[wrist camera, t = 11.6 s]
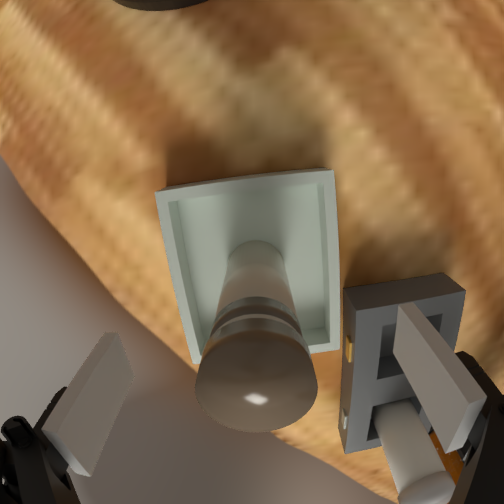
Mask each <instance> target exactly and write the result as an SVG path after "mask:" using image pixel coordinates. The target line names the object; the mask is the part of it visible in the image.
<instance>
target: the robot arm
mask: <svg viewBox="0 0 504 504" xmlns="http://www.w3.org/2000/svg"><path fill="white" fill-rule="evenodd" d="M113 1H115V2H117V3H118V4H121V5H123V6H126V7H129V8H132V9H137V10H146V11H163V10H173V9H179V8H184V7H188V6H192V5H196V4H199V3H202V2H205V1H208V0H113ZM393 354H394V355H395V357H396V359H397V361H398V363H399V364H400V366H401V368H402V370H403V372H404V373H405V375H406V377H407V379H408V381H409V383H410V384H411V386H412V388H413V390H414V392H415V394H416V396H417V398H418V400H419V401H420V403H421V405H422V407H423V409H424V411H425V413H426V415H427V417H428V419H429V421H430V423H431V425H432V427H433V429H434V431H435V433H436V435H437V437H438V439H439V441H440V443H441V445H442V447H443V449H444V452H445V454H446V453H449V452H451V451H454V450H457V449H459V448H462V447H463V445H464V443H465V442H466V440H467V438H468V439H469V441H470V443H471V444H472V445H471V446H470V448H469V450H468V451H467V453H466V455H465V457H464V458H463V461H465V462H464V465H463V468H462V471H461V474H460V476H459V479H458V482H457V484H456V487H455V489H454V492H453V494H452V497H451V499H450V501H449V504H504V395H502V394H501V392H500V391H499V390H498V388H497V387H496V386H495V384H494V383H493V382H492V380H491V379H490V378H489V377H488V375H487V374H486V373H484V370H483V369H482V368H481V366H479V364H478V363H477V362H476V360H475V359H474V358H473V357H472V356H471V355H469V354H467V353H466V352H464V351H461V352H458V353H454V352H453V350H452V349H451V348H450V346H449V345H448V344H447V343H446V341H445V340H444V339H443V338H442V336H441V335H440V334H439V333H438V331H437V330H436V329H435V328H434V327H433V325H432V324H431V323H430V322H429V321H428V319H427V318H426V317H425V316H424V315H423V313H422V312H421V311H420V310H419V309H418V307H417V306H416V305H415V304H414V303H413V302H411V303H405V304H399V305H398V315H397V324H396V332H395V340H394V348H393ZM134 377H135V375H134V372H133V370H132V368H131V365H130V363H129V360H128V358H127V355H126V352H125V350H124V347H123V344H122V342H121V339H120V336H119V334H118V332H105V333H104V335H103V336H102V337H101V339H100V340H99V342H98V343H97V344H96V346H95V347H94V349H93V350H92V352H91V353H90V355H89V356H88V357H87V359H86V360H85V362H84V363H83V365H82V366H81V368H80V369H79V371H78V372H77V374H76V375H75V377H74V378H73V380H72V381H71V383H70V384H69V386H68V387H63V388H62V389H61V390H60V391H58V392H57V393H56V394H55V396H54V397H53V399H52V400H51V403H49V405H48V406H47V409H46V410H45V411H44V412H43V414H42V416H41V417H40V419H39V420H38V422H37V423H36V425H35V427H34V428H32V427H31V426H30V424H29V423H28V422H27V420H26V419H25V418H24V417H22V416H14V417H11V418H10V419H8V420H7V421H6V422H5V423H4V424H3V426H2V427H1V433H2V434H3V436H4V437H5V438H6V440H7V441H2V440H1V439H0V504H81V503H80V501H79V499H78V496H77V494H76V491H75V488H74V486H73V484H72V481H71V478H70V476H69V474H68V473H67V471H66V470H67V468H68V465H69V466H70V467H71V468H72V469H73V471H74V472H75V473H77V474H81V475H85V476H90V477H91V475H92V473H93V470H94V468H95V465H96V463H97V461H98V458H99V456H100V454H101V451H102V449H103V447H104V444H105V442H106V440H107V437H108V435H109V433H110V430H111V428H112V426H113V423H114V421H115V419H116V417H117V414H118V412H119V410H120V408H121V405H122V403H123V401H124V399H125V397H126V394H127V392H128V390H129V387H130V386H131V383H132V381H133V379H134ZM2 478H3V479H4V480H5V482H4V484H2Z"/></svg>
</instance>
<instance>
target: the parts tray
mask: <svg viewBox="0 0 504 504" xmlns="http://www.w3.org/2000/svg"><path fill="white" fill-rule="evenodd" d="M155 197H156V202H157V208H158V214H159V219H160V224H161V230H162V235H163V240H164V245H165V250H166V255H167V259H168V264H169V269H170V273H171V278H172V282H173V287H174V291H175V295H176V300H177V304H178V308H179V312H180V316H181V320H182V324H183V328H184V332H185V336H186V340H187V344H188V347H189V351H190V355H191V358H192V362H193V364H200V362H201V357H202V353H203V350H204V347H205V345H206V343H207V341H208V340H209V338H210V334H211V329H212V325H213V322H214V320H215V316H216V312H217V307H218V303H219V298H220V294H221V290H222V285H223V281H224V276H225V272H226V268H227V264H228V260H229V257H230V255H231V253H232V252H233V250H234V249H235V248H236V247H238V246H239V245H240V244H242V243H244V242H247V241H251V240H261V241H265V242H268V243H270V244H272V245H273V246H274V247H276V248H277V249H278V251H279V252H280V253H281V255H282V257H283V260H284V264H285V268H286V272H287V276H288V281H289V285H290V289H291V293H292V297H293V302H294V306H295V310H296V314H297V319H298V321H299V324H300V327H301V331H302V336H303V339H304V340H305V342H306V343H307V345H308V348H309V351H310V354H311V353H318V352H325V351H332V350H338V349H340V270H339V242H338V222H337V205H336V191H335V179H334V170H332V169H328V168H325V167H323V168H311V169H300V170H290V171H280V172H271V173H262V174H253V175H245V176H237V177H229V178H222V179H215V180H208V181H201V182H194V183H188V184H181V185H175V186H169V187H165V188H163V189H161V190H159V191H156V192H155Z"/></svg>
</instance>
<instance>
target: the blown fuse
mask: <svg viewBox="0 0 504 504" xmlns="http://www.w3.org/2000/svg"><path fill="white" fill-rule="evenodd" d="M317 390H318V386H317V379H316V375H315V371H314V367H313V363H312V359H311V355H310V351H309V348H308V345H307V343H306V342H305V340H304V339H303V336H302V331H301V327H300V324H299V321H298V319H297V314H296V310H295V306H294V302H293V297H292V293H291V289H290V285H289V281H288V276H287V272H286V268H285V264H284V260H283V257H282V255H281V253H280V252H279V251H278V249H277V248H276V247H274V246H273V245H272V244H270V243H268V242H265V241H261V240H251V241H247V242H244V243H242V244H240V245H239V246H238V247H236V248H235V249H234V250H233V252H232V253H231V255H230V257H229V260H228V264H227V268H226V272H225V276H224V281H223V285H222V290H221V294H220V298H219V303H218V307H217V312H216V316H215V320H214V322H213V325H212V329H211V334H210V338H209V340H208V341H207V343H206V345H205V347H204V350H203V353H202V357H201V362H200V366H199V370H198V374H197V379H196V384H195V393H196V397H197V400H198V403H199V404H200V406H201V408H202V409H203V410H204V411H205V413H206V414H207V415H209V416H210V417H211V418H212V419H214V420H215V421H216V422H218V423H220V424H222V425H224V426H226V427H229V428H232V429H236V430H240V431H247V432H266V431H272V430H277V429H280V428H283V427H286V426H288V425H290V424H292V423H294V422H296V421H297V420H299V419H300V418H302V417H303V416H304V415H305V414H306V413H307V412H308V411H309V410H310V408H311V407H312V405H313V404H314V402H315V399H316V396H317Z"/></svg>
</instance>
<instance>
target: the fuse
mask: <svg viewBox="0 0 504 504" xmlns="http://www.w3.org/2000/svg"><path fill="white" fill-rule="evenodd" d="M371 417H372V420H373V422H374V425H375V428H376V430H377V433H378V436H379V439H380V441H381V444H382V447H383V450H384V453H385V456H386V458H387V461H388V464H389V467H390V470H391V473H392V476H393V479H394V482H395V485H396V488H397V491H398V494H399V496H398V502H399V504H447V503H448V502H449V501H450V499H451V497H452V494H453V492H454V489H455V487H456V485H455V483H454V481H453V479H452V477H451V475H450V473H449V472H448V471H446V470H445V467H444V465H443V463H442V461H441V459H440V457H439V455H438V453H437V451H436V449H435V447H434V445H433V442H432V440H431V438H430V436H429V434H428V432H427V430H426V428H425V426H424V424H423V423H422V421H421V419H420V417H419V415H418V413H417V411H416V409H415V407H414V405H413V403H412V401H411V399H410V397H409V398H405V399H401V400H397V401H393V402H389V403H385V404H381V405H376V406H373V408H372V413H371Z"/></svg>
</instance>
